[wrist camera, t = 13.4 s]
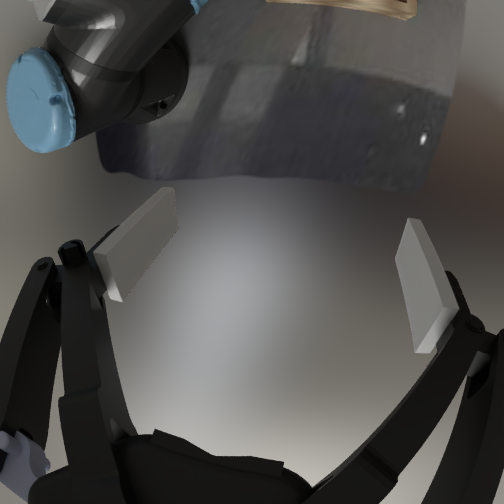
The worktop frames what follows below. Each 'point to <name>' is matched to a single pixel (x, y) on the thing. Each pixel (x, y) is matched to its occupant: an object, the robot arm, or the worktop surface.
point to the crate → (369, 6)
